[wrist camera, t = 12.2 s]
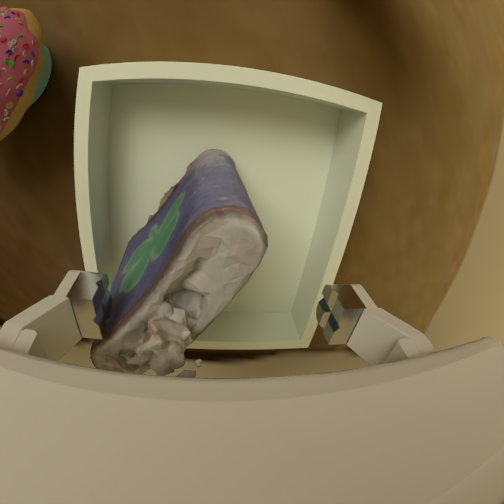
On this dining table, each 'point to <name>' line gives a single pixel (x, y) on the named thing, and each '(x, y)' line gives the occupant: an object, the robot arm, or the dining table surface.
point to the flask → (181, 270)
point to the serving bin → (247, 165)
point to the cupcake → (20, 65)
